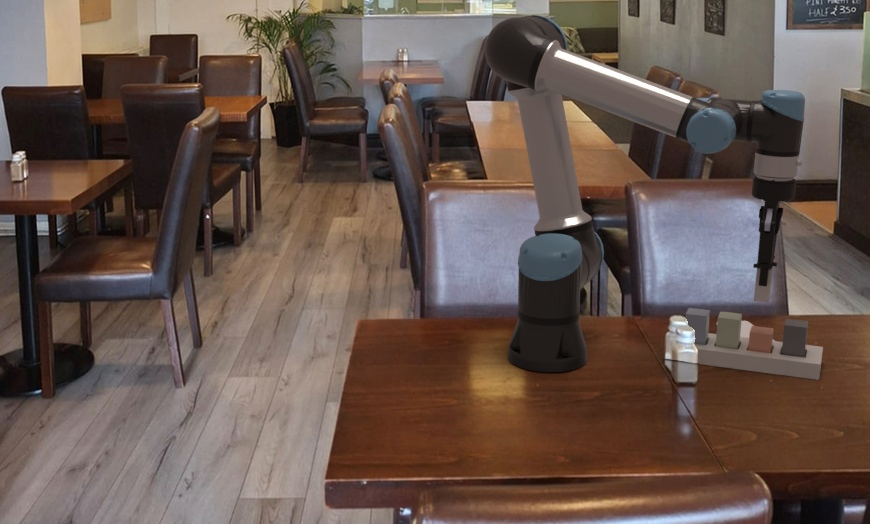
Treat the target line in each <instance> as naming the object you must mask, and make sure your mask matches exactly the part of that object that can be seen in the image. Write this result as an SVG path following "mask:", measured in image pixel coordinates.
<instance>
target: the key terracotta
mask: <svg viewBox="0 0 870 524" xmlns="http://www.w3.org/2000/svg"><path fill="white" fill-rule="evenodd" d="M774 329H775V328H774V327H766V326H757V325H754V326H752V327H751V330H750V335H749V347H748V351H757V352H765V353H772V343H773V340H774V331H775V330H774Z"/></svg>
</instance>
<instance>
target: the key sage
mask: <svg viewBox="0 0 870 524" xmlns="http://www.w3.org/2000/svg"><path fill="white" fill-rule="evenodd" d="M742 318H743V313H739V312H738V313H737V312H731V311H730V312H729V311H720V312H719V314H718V316H717V322H716V323H717V326H716V334H717V335H716V347H724V348H732V349H738V347H739V344H740V333H741V321H743V320H742Z"/></svg>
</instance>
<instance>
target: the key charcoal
mask: <svg viewBox="0 0 870 524" xmlns="http://www.w3.org/2000/svg"><path fill="white" fill-rule="evenodd" d="M808 327H809V320H803V319H802V320H801V319H792V318H785V321H784V325H783V333H782V335H783V336H782V342H783V344H782V355H789V356H797V357H804V356H805V350H806V345H807V340H808V338H807V337H808Z"/></svg>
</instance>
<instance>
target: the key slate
mask: <svg viewBox="0 0 870 524" xmlns="http://www.w3.org/2000/svg"><path fill="white" fill-rule="evenodd" d="M710 314H711V310H710V309H702V308H695V307H694V308H693V307H688V309H687V310H686V312H685V318H686V319H687V321H688V325H689V326H690V327H692V328H693V329H694V330H695V338H696V339H695V344H700V345H706V343H707V340H708V333H709V330H710Z"/></svg>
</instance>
